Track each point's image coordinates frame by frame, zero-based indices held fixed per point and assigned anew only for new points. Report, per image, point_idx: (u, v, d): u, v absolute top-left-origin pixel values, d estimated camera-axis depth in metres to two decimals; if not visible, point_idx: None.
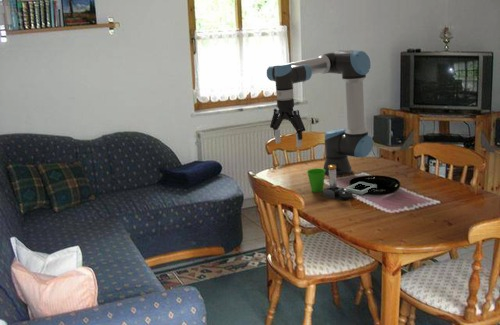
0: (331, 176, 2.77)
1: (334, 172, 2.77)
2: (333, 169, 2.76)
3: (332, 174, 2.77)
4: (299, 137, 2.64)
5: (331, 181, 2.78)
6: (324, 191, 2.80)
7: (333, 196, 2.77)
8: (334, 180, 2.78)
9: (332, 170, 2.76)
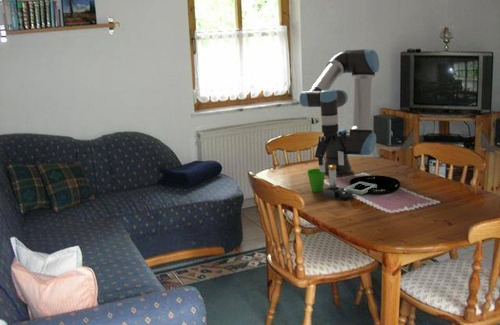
0: (331, 176, 2.77)
1: (334, 172, 2.77)
2: (333, 169, 2.76)
3: (332, 174, 2.77)
4: None
5: (331, 181, 2.78)
6: (324, 191, 2.80)
7: (333, 196, 2.77)
8: (334, 180, 2.78)
9: (332, 170, 2.76)
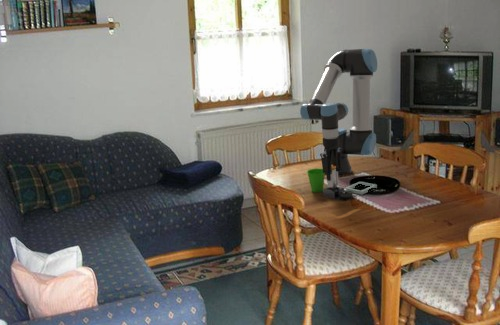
0: None
1: (334, 172, 2.77)
2: (333, 169, 2.76)
3: (332, 174, 2.77)
4: None
5: None
6: (324, 191, 2.80)
7: (333, 196, 2.77)
8: (334, 180, 2.78)
9: (332, 170, 2.76)
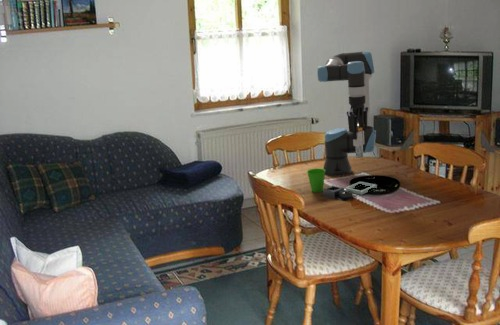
0: None
1: (360, 134, 2.76)
2: (359, 131, 2.76)
3: None
4: None
5: None
6: (324, 191, 2.80)
7: (333, 196, 2.77)
8: (360, 142, 2.77)
9: None
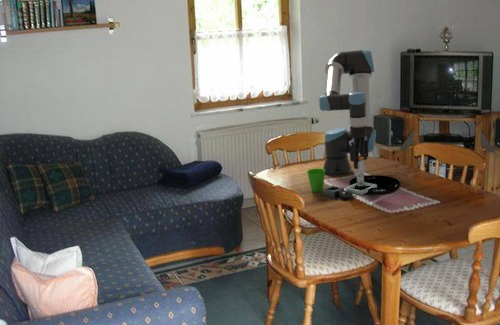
0: None
1: (361, 163, 2.80)
2: (361, 160, 2.79)
3: (360, 165, 2.80)
4: None
5: None
6: (324, 191, 2.80)
7: (333, 196, 2.77)
8: (361, 171, 2.81)
9: (360, 161, 2.80)
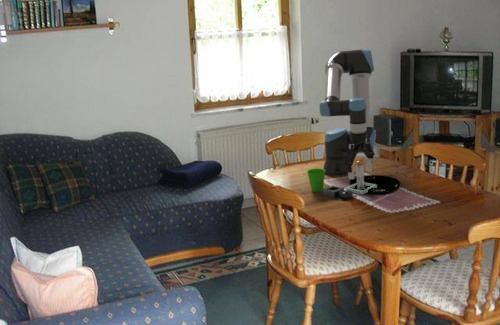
0: (359, 171, 2.81)
1: (362, 167, 2.81)
2: (361, 164, 2.80)
3: (360, 169, 2.81)
4: None
5: (359, 176, 2.82)
6: (324, 191, 2.80)
7: (333, 196, 2.77)
8: (362, 175, 2.82)
9: (360, 165, 2.80)
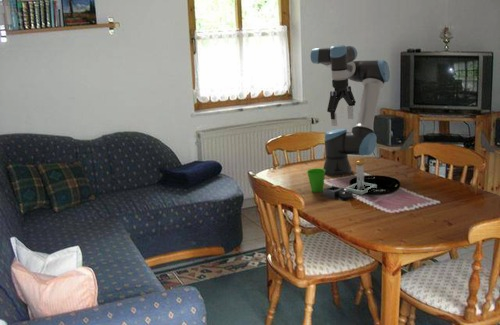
0: (359, 171, 2.81)
1: (362, 167, 2.81)
2: (361, 165, 2.80)
3: (360, 169, 2.81)
4: None
5: (359, 176, 2.82)
6: (324, 191, 2.80)
7: (333, 196, 2.77)
8: (362, 175, 2.82)
9: (360, 165, 2.80)
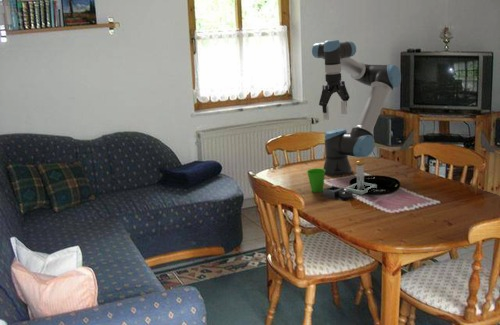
0: (359, 171, 2.81)
1: (362, 167, 2.81)
2: (361, 165, 2.80)
3: (360, 169, 2.81)
4: None
5: (359, 176, 2.82)
6: (324, 191, 2.80)
7: (333, 196, 2.77)
8: (362, 175, 2.82)
9: (360, 166, 2.80)
